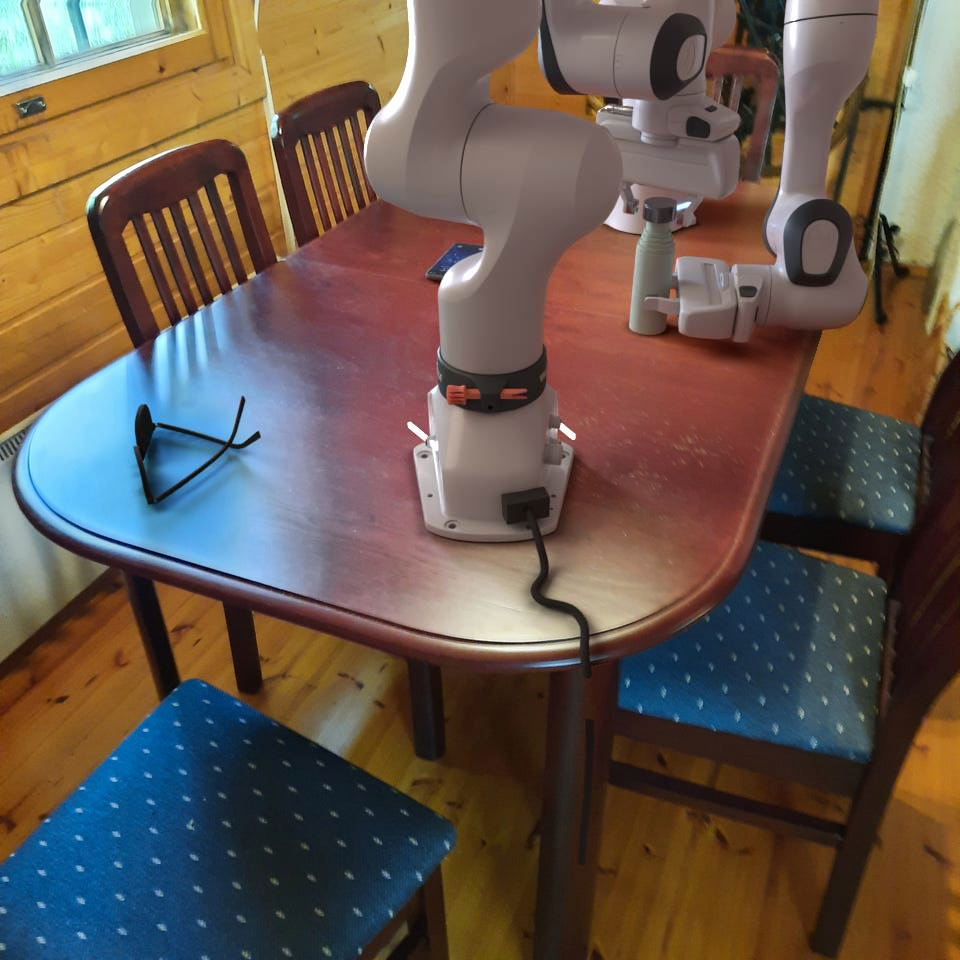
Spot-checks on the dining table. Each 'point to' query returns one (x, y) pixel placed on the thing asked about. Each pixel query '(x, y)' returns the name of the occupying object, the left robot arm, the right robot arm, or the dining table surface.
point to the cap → (659, 210)
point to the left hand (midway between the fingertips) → (656, 218)
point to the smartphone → (452, 259)
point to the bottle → (651, 277)
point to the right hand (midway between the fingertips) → (644, 292)
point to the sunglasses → (147, 427)
